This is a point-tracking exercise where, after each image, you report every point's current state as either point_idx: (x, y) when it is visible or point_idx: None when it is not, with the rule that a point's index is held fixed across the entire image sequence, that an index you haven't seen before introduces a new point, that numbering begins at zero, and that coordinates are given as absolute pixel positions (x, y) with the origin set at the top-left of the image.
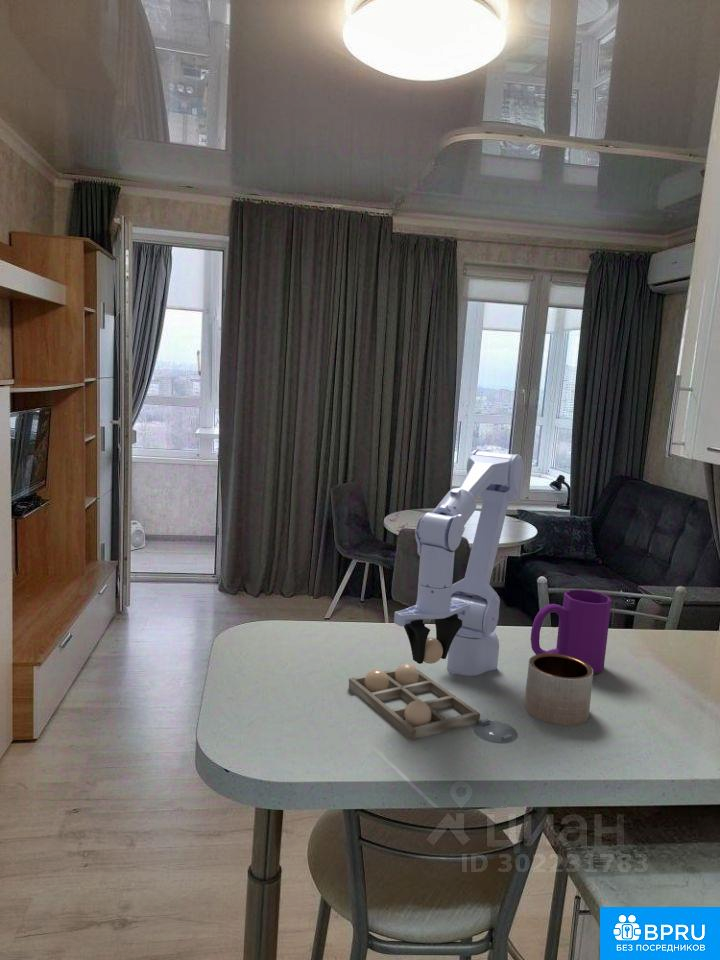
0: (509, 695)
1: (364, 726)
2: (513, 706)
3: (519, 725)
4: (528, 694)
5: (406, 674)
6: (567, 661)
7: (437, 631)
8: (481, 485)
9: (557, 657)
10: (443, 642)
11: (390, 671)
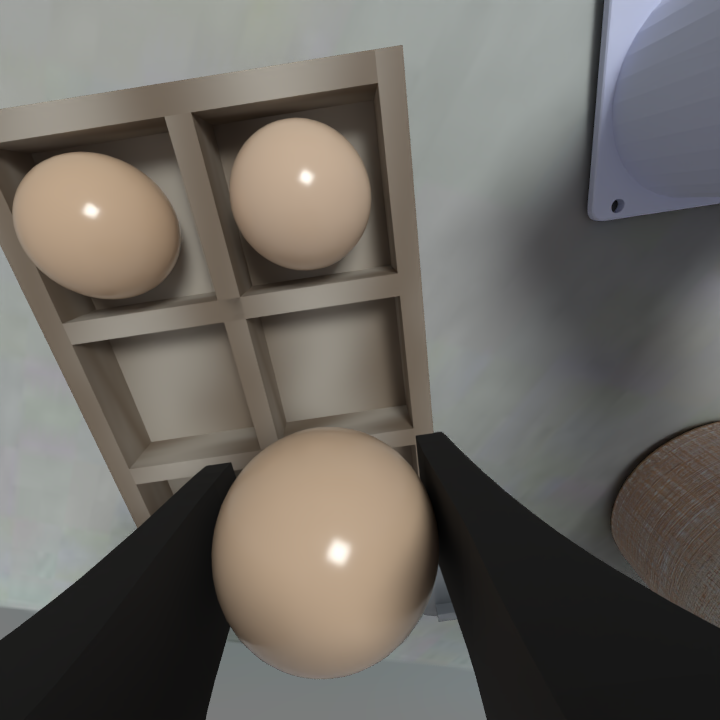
0: (700, 342)
1: (69, 409)
2: (641, 414)
3: (562, 508)
4: (678, 547)
5: (271, 256)
6: None
7: (487, 594)
8: None
9: None
10: (460, 602)
11: (230, 93)
